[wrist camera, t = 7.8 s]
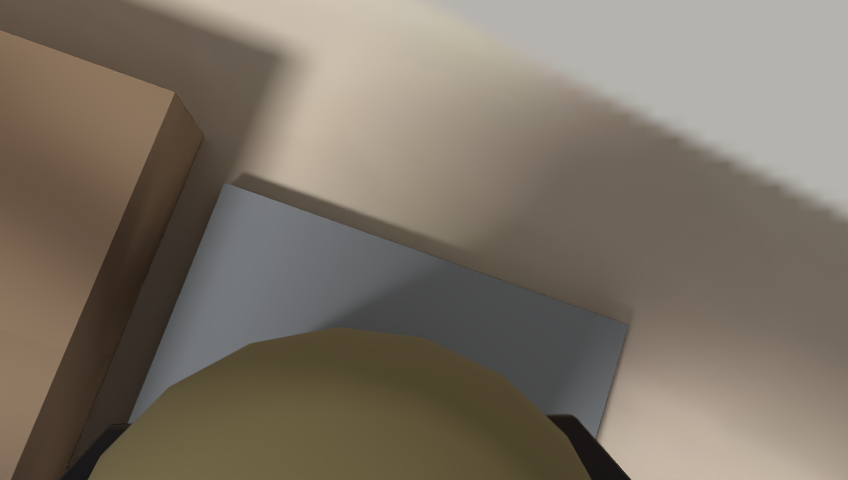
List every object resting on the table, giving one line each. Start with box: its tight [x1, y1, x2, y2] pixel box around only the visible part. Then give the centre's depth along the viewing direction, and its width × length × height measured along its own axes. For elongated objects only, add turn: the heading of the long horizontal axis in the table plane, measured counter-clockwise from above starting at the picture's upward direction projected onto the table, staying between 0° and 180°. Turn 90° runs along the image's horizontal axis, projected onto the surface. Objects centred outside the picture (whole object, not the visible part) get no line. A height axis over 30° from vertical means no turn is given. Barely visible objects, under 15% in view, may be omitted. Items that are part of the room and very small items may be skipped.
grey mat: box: [128, 183, 628, 438], centre depth 18 cm, size 10×10×1 cm
